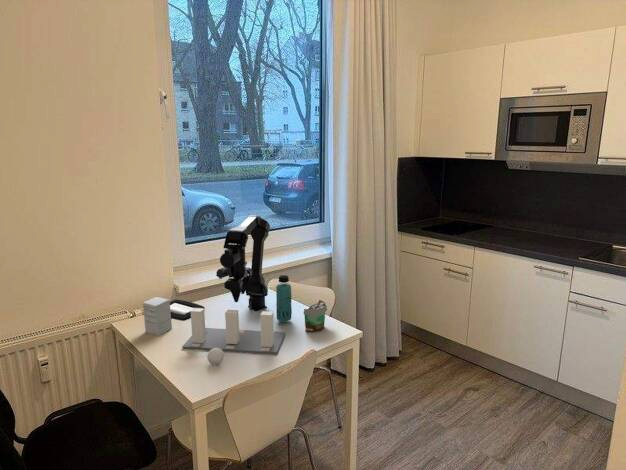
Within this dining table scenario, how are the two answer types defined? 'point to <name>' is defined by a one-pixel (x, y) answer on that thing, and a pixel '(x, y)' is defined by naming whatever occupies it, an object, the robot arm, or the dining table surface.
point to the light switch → (182, 309)
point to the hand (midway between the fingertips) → (239, 297)
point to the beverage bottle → (283, 299)
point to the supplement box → (157, 315)
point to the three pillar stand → (249, 339)
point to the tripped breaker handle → (232, 326)
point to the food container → (315, 317)
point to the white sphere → (215, 356)
